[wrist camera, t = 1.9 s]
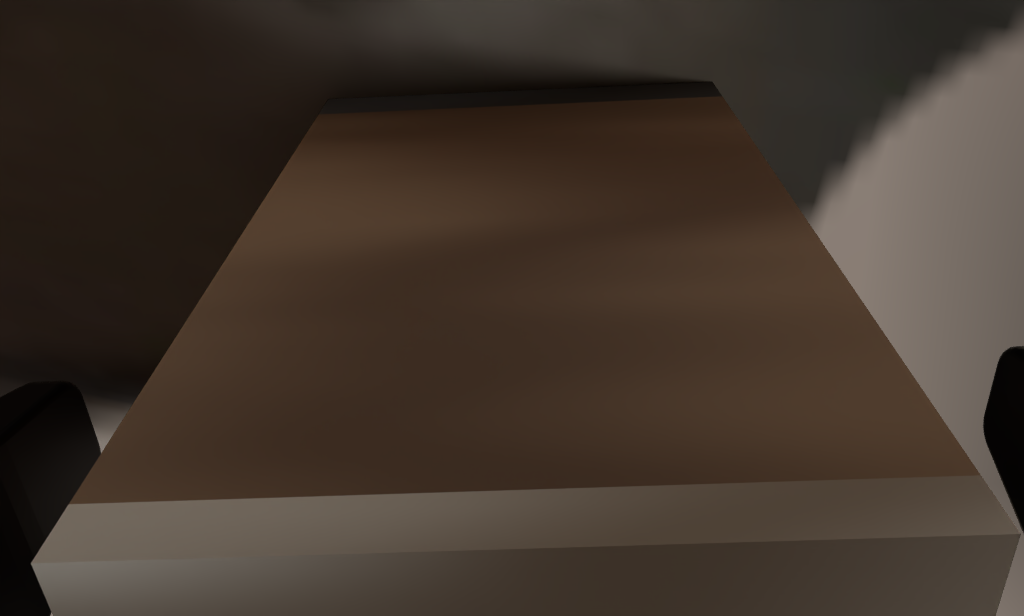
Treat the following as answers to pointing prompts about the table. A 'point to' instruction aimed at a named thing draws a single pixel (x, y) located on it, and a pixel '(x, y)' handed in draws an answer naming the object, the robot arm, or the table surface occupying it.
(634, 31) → the table surface
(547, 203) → the stamp
